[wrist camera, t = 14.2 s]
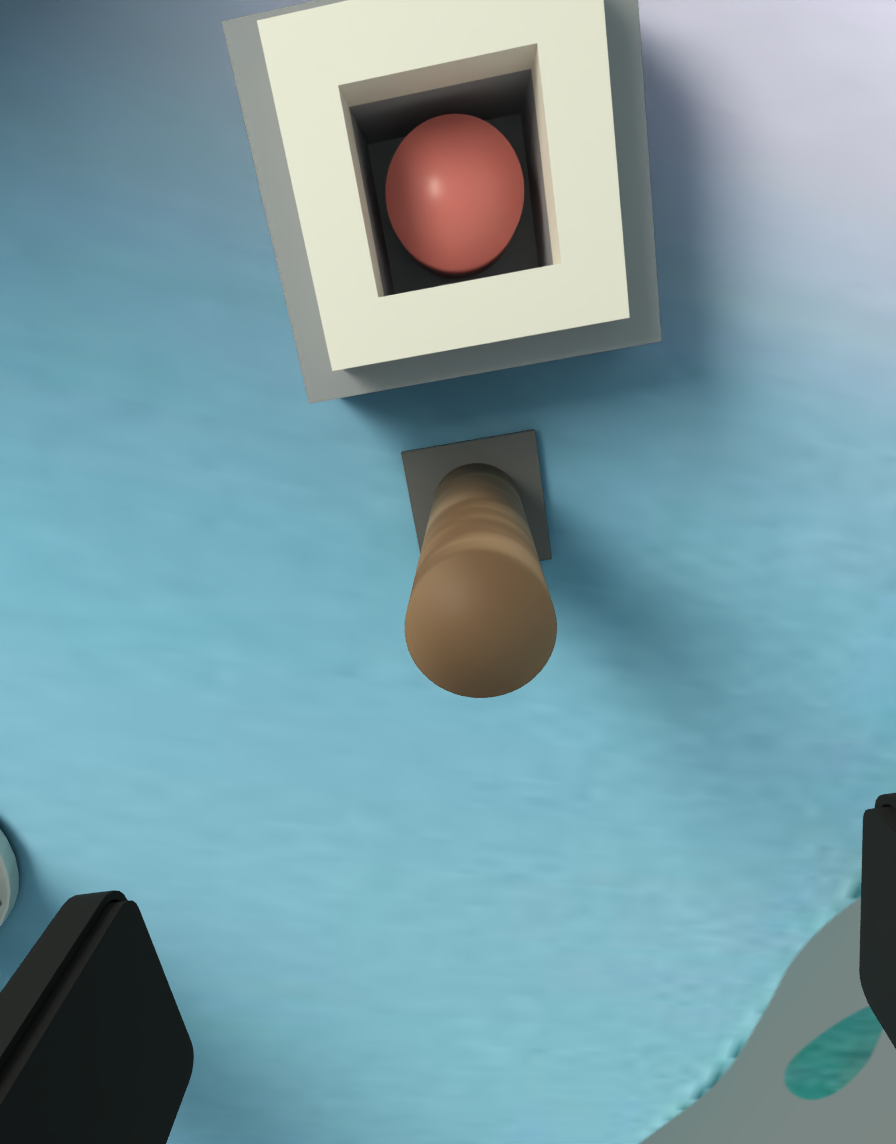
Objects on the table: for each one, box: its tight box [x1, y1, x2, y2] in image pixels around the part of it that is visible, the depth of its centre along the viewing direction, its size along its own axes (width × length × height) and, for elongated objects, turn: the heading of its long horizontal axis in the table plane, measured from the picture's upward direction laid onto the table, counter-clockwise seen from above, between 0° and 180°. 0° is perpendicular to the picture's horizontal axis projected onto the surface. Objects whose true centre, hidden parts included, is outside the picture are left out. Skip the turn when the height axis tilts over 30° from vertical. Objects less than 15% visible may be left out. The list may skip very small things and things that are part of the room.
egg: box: [386, 114, 524, 278], centre depth 25 cm, size 5×5×4 cm
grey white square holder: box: [221, 0, 661, 403], centre depth 25 cm, size 12×13×7 cm
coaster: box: [401, 430, 551, 561], centre depth 31 cm, size 6×6×1 cm
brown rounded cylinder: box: [405, 463, 557, 698], centre depth 25 cm, size 4×4×14 cm
